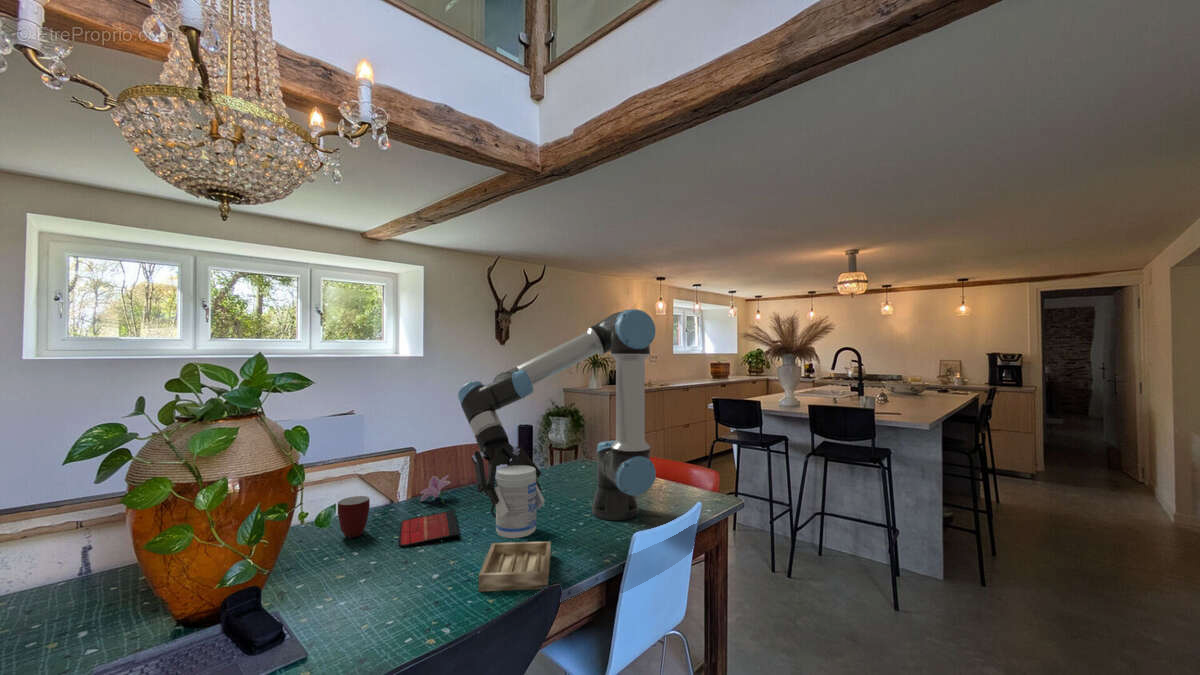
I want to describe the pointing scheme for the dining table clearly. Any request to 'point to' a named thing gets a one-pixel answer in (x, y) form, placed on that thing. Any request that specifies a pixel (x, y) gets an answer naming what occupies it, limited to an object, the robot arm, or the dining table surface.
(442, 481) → the lily
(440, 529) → the red book
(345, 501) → the mug
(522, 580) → the slatted wooden tray
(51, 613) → the dining table surface
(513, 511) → the supplement tub
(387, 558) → the dining table surface
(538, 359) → the robot arm
